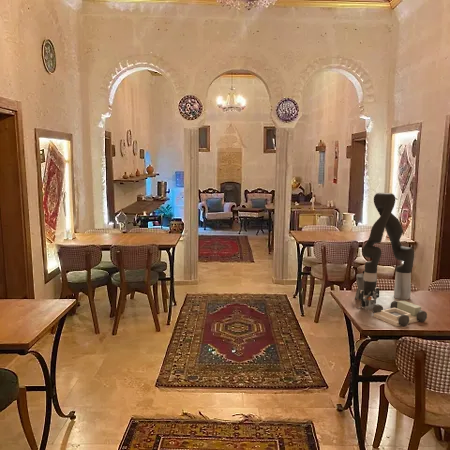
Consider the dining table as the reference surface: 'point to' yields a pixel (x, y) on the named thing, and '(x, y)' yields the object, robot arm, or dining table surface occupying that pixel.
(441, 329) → the dining table surface
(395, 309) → the chassis
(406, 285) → the robot arm
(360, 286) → the coffeepot
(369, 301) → the cube with copper knob
